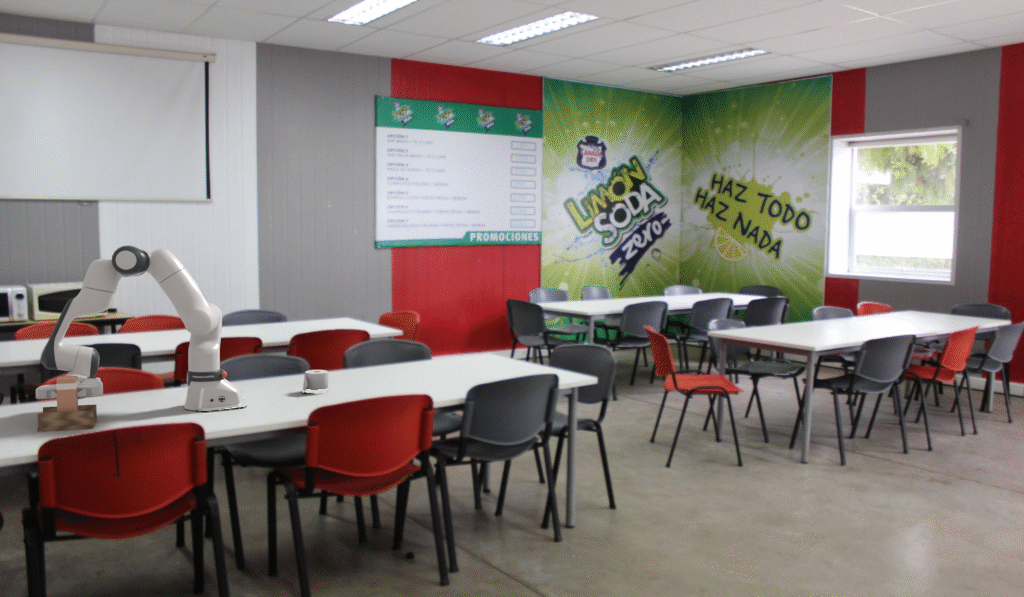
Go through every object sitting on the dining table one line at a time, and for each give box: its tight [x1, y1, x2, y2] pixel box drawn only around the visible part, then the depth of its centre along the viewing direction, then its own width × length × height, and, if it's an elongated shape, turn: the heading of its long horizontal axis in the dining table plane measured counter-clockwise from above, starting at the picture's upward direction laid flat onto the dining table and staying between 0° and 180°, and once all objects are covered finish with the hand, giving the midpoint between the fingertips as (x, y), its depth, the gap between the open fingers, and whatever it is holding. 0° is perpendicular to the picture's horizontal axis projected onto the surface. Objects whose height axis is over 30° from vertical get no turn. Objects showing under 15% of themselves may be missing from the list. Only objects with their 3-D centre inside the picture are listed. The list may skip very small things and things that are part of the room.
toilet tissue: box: [302, 369, 329, 391], centre depth 328 cm, size 9×13×9 cm
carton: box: [55, 375, 79, 412], centre depth 264 cm, size 6×6×14 cm
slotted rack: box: [37, 404, 98, 432], centre depth 265 cm, size 16×12×6 cm
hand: (67, 395), depth 263 cm, fingers closed on carton, 5 cm apart
